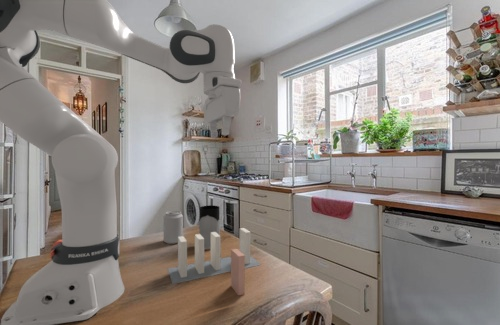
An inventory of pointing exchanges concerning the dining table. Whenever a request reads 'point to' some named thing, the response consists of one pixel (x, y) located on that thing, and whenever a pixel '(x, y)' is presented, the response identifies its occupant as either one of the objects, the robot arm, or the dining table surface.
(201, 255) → the domino
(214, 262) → the domino
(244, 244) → the domino
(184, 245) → the domino
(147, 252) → the dining table surface
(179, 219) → the can
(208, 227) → the grey mug
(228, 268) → the mat
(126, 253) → the dining table surface
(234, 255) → the domino
